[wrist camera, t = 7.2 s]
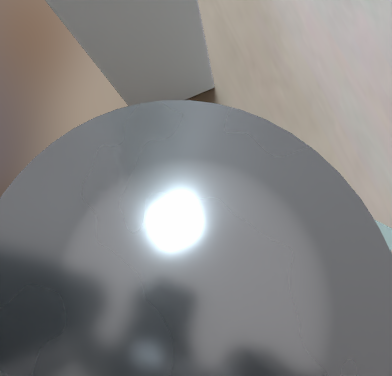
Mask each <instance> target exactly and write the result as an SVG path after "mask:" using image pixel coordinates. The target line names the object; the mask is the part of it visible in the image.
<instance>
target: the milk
mask: <svg viewBox="0 0 392 376" xmlns="http://www.w3.org/2000/svg"><path fill="white" fill-rule="evenodd" d="M45 1H46V2H47V3H48V5H49V6H50V7H51V8H52V10H53V11H54V12H55V14H56V15H57V16H58V17H59V18H60V20H61V21H62V22H63V24H64V25H65V26H66V27H67V29H68V30H69V31H70V32H71V34H72V35H73V36H74V38H75V39H76V40H77V41H78V43H79V44H80V45H81V46H82V48H83V49H84V50H85V51H86V53H87V54H88V55H89V56H90V58H91V59H92V60H93V62H94V63H95V64H96V65H97V67H98V68H99V69H100V70H101V72H102V73H103V74H104V75H105V76H106V78H107V79H108V80H109V82H110V83H111V84H112V86H113V87H114V88H115V89H116V91H117V92H118V93H119V94H120V96H121V97H122V98H123V99H124V101H125V102H126V103H127V104H128V106H132V105H136V104H140V103H147V102H155V101H163V100H186V99H188V98H191V97H193V96H195V95H198V94H200V93H203V92H205V91H207V90H210V89H212V88H214V80H213V75H212V70H211V65H210V60H209V55H208V50H207V45H206V40H205V35H204V30H203V25H202V20H201V15H200V10H199V5H198V0H45Z"/></svg>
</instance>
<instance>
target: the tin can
mask: <svg viewBox="0 0 392 376" xmlns="http://www.w3.org/2000/svg"><path fill="white" fill-rule="evenodd" d="M0 376H392V253H391V251H390V249H389V247H388V245H387V243H386V241H385V239H384V236H383V234H382V232H381V230H380V228H379V227H378V225H377V223H376V222H375V220H374V219H373V217H372V216H371V214H370V212H369V211H368V209H367V208H366V206H365V205H364V203H363V201H362V200H361V198H360V197H359V196H358V195H357V194H356V192H355V191H354V190H353V189H352V188H351V186H350V185H349V184H348V183H347V182H346V180H345V179H344V178H343V177H342V176H341V174H340V173H339V172H338V171H337V170H336V169H335V168H334V167H332V166H331V165H330V164H329V163H328V162H327V161H326V160H325V159H324V158H323V157H322V156H321V155H320V154H319V153H317V152H316V151H315V150H314V149H312V148H311V147H310V146H308V145H307V144H305V143H304V142H303V141H301V140H300V139H298V138H297V137H296V136H294V135H293V134H292V133H290V132H288V131H286V130H284V129H282V128H281V127H279V126H277V125H275V124H273V123H271V122H270V121H268V120H266V119H263V118H261V117H258V116H255V115H253V114H250V113H248V112H245V111H243V110H240V109H236V108H232V107H228V106H224V105H220V104H216V103H209V102H201V101H192V100H163V101H155V102H147V103H140V104H136V105H132V106H128V107H124V108H120V109H116V110H113V111H111V112H108V113H106V114H103V115H100V116H98V117H95V118H93V119H91V120H89V121H87V122H85V123H84V124H81V125H80V126H78V127H76V128H74V129H72V130H71V131H69V132H68V133H66V134H65V135H63V136H62V137H60V138H59V139H57V140H56V141H54V142H53V143H52V144H50V145H49V146H48V147H47V148H46V149H45V150H43V151H42V152H41V153H40V154H39V155H37V156H36V157H35V158H34V159H33V160H32V161H31V162H30V163H29V164H28V165H27V166H26V167H25V168H24V169H23V170H22V172H20V174H19V175H18V176H17V177H16V178H15V180H14V181H13V182H12V183H11V184H10V186H9V187H8V188H7V190H6V191H5V192H4V194H3V195H2V196H1V198H0Z"/></svg>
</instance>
